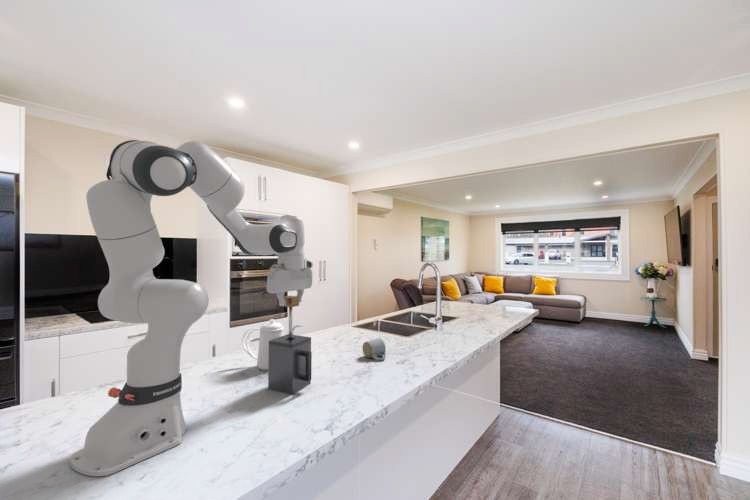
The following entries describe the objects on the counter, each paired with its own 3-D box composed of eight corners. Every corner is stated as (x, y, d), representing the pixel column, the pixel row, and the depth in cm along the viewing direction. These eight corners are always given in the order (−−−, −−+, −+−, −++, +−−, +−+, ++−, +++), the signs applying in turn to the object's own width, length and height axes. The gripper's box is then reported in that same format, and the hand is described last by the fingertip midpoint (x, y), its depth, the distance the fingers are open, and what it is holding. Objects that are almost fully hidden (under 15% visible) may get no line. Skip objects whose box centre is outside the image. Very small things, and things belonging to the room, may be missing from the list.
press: (300, 396, 106) (301, 345, 106) (268, 389, 112) (268, 340, 112) (318, 385, 115) (318, 338, 115) (287, 379, 121) (288, 334, 121)
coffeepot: (298, 372, 127) (299, 323, 127) (235, 369, 130) (236, 321, 130) (307, 363, 138) (307, 317, 138) (249, 360, 140) (249, 316, 141)
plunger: (291, 356, 110) (292, 298, 110) (275, 353, 112) (276, 297, 113) (304, 351, 116) (304, 296, 116) (288, 348, 119) (289, 294, 119)
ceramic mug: (361, 356, 148) (361, 338, 148) (376, 352, 153) (376, 336, 153) (374, 363, 139) (375, 344, 139) (390, 359, 144) (390, 341, 144)
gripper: (277, 264, 104) (277, 309, 104) (315, 263, 122) (315, 300, 122) (262, 264, 106) (261, 307, 106) (301, 262, 125) (301, 299, 125)
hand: (290, 303), depth 114 cm, fingers open, 7 cm apart
